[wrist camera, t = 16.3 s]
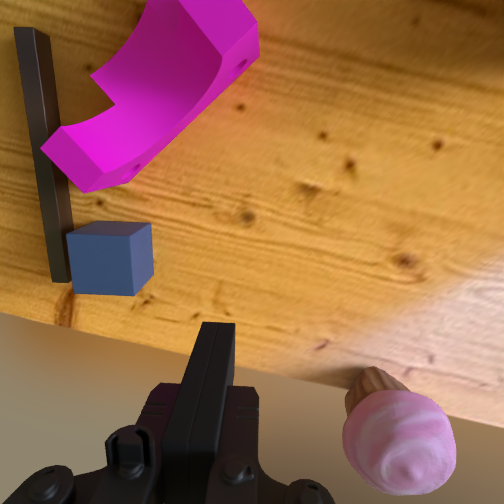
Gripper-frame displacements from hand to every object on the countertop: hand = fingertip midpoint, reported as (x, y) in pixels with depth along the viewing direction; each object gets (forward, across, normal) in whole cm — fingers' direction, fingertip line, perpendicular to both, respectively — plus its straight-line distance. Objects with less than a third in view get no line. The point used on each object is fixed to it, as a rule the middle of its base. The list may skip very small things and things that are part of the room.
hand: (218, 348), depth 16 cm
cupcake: (+16, +14, -14) cm, 26 cm away
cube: (+16, -11, 0) cm, 19 cm away
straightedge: (+16, -16, +7) cm, 24 cm away
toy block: (+16, -7, +13) cm, 22 cm away
